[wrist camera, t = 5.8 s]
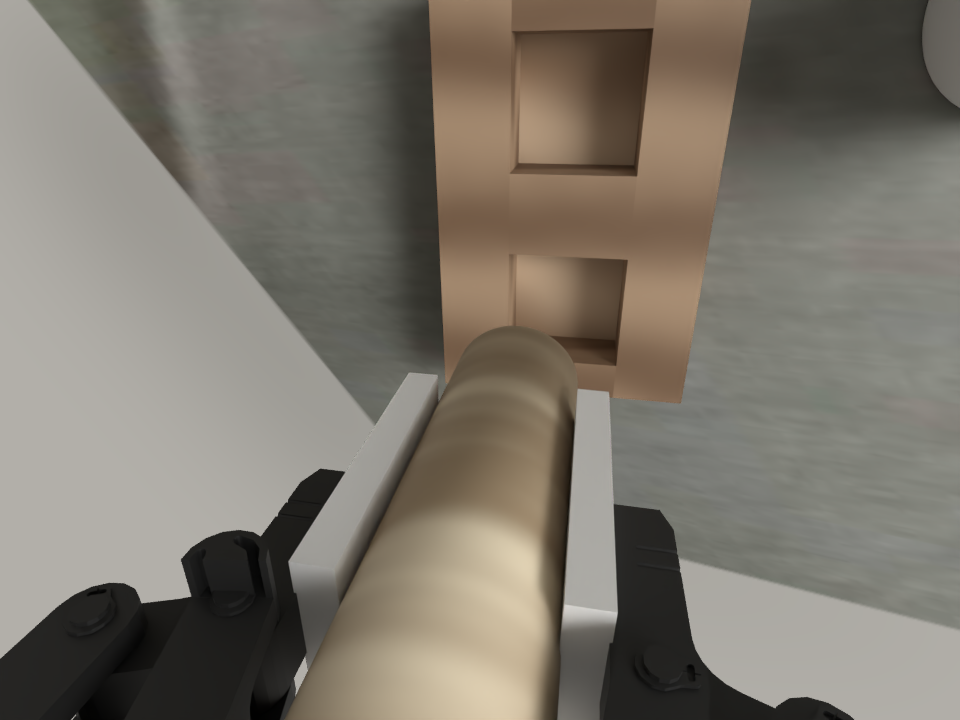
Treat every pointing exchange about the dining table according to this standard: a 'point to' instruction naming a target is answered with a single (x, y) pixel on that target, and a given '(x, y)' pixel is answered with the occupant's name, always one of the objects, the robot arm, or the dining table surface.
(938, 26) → the mug
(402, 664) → the pin
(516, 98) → the bore block
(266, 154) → the dining table surface
